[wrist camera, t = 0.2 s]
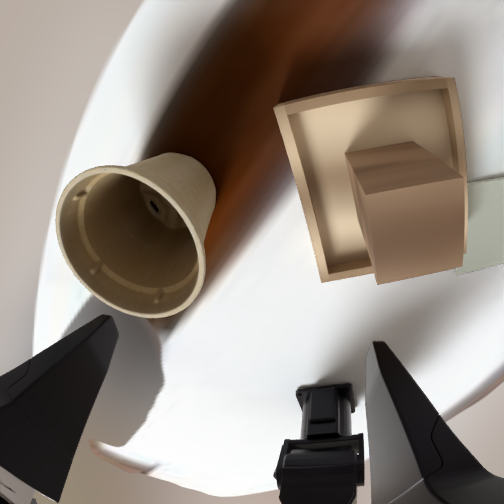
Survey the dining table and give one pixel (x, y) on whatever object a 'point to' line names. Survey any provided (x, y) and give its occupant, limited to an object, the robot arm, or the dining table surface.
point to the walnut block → (408, 210)
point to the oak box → (360, 138)
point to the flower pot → (139, 232)
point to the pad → (484, 226)
